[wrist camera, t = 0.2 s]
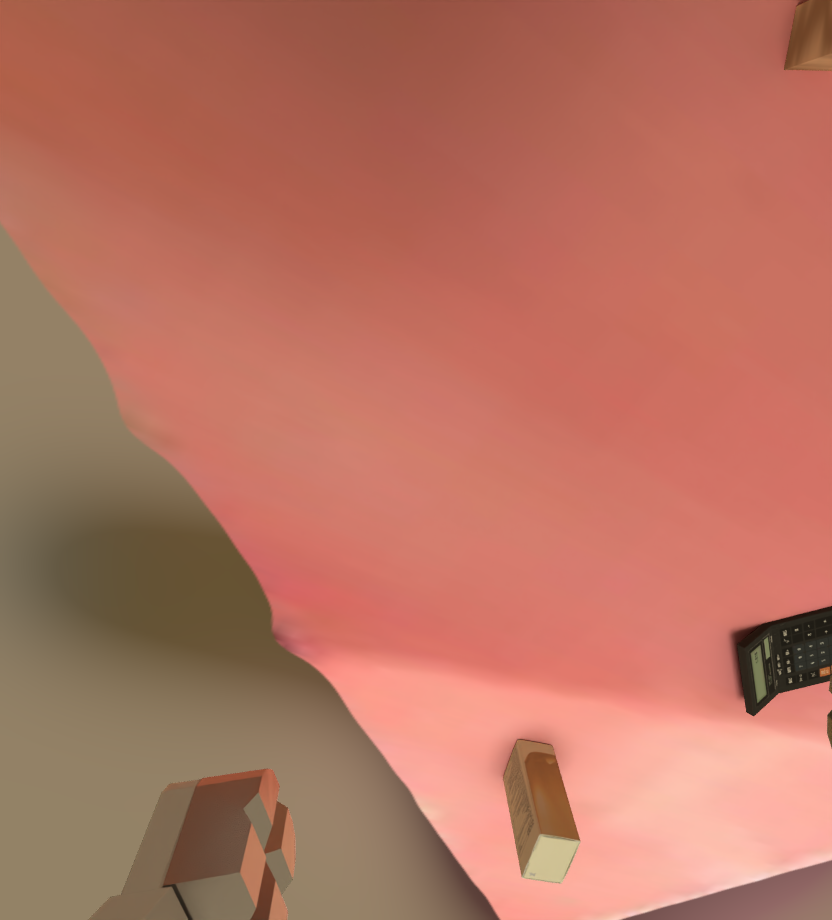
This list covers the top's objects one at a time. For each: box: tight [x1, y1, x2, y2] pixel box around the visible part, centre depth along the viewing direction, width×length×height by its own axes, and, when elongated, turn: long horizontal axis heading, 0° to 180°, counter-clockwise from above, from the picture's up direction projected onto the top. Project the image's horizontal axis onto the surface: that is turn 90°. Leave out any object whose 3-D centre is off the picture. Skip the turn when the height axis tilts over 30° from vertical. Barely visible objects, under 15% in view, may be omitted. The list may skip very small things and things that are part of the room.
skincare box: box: [503, 740, 580, 883], centre depth 68 cm, size 6×4×12 cm
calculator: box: [737, 606, 832, 716], centre depth 67 cm, size 9×12×3 cm
